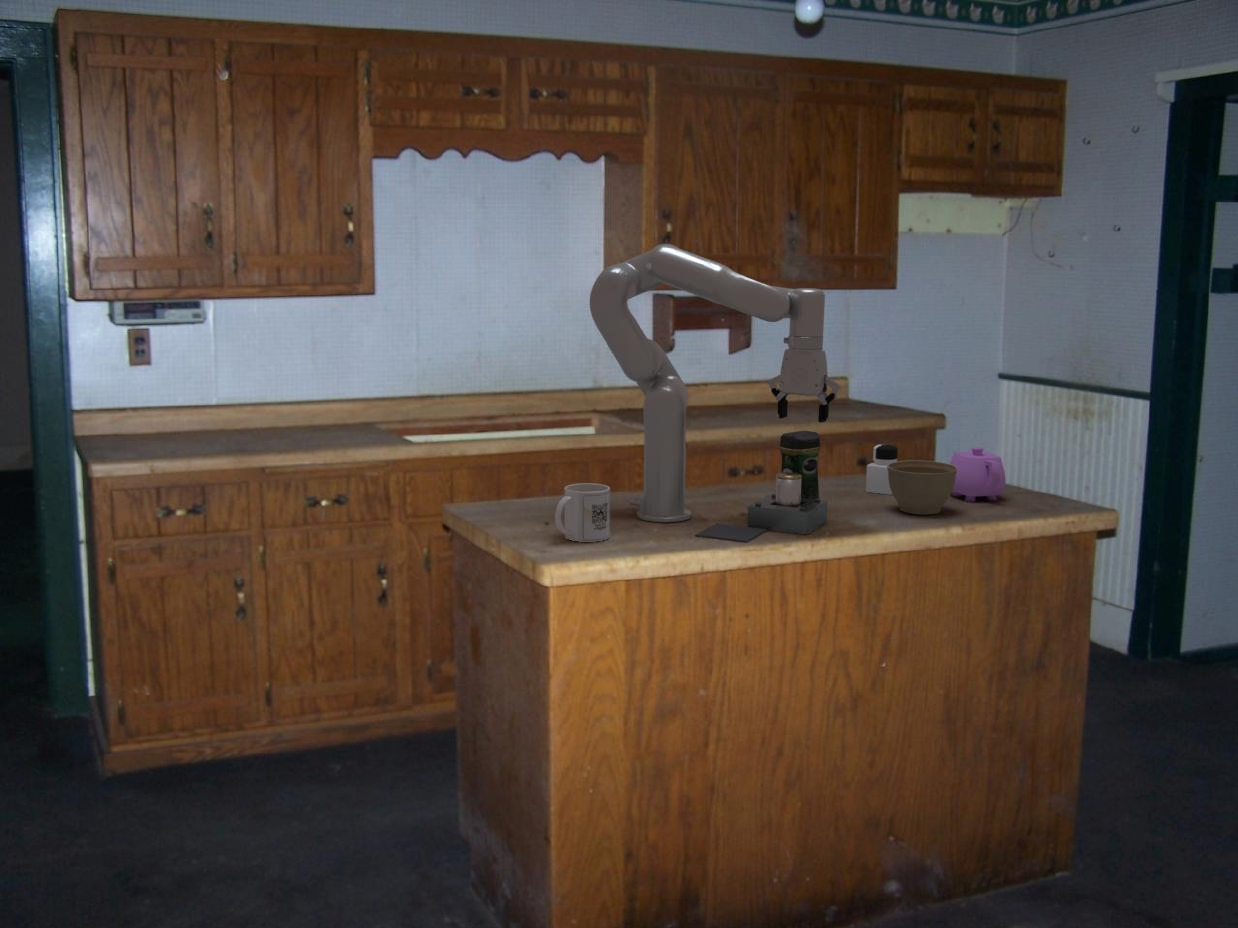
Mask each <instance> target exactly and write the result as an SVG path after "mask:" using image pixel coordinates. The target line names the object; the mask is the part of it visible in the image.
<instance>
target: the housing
mask: <svg viewBox="0 0 1238 928" xmlns="http://www.w3.org/2000/svg"><path fill="white" fill-rule="evenodd" d="M828 503H829V502H828V500H824V499H823V500H822V499H821V498H820V497H819V498H815V499H806V498H801V506H799V507H788V506H778V505H776V493H772V494H768V495H766V496H765V497H762V498H760V499H759V500H757V501H754V502H753V503H751V504H749V505H747V520H746V521H747V523H746V525H747V526H746V527H751V528H759V529H767V531H773V532H779V531H782V532H781V533H790V534H799V535H809V534H811V533H812V532H814V531H815V530H817V529H819V527H822V526H823V525H825V524H826V523H827V522H828Z"/></svg>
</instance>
